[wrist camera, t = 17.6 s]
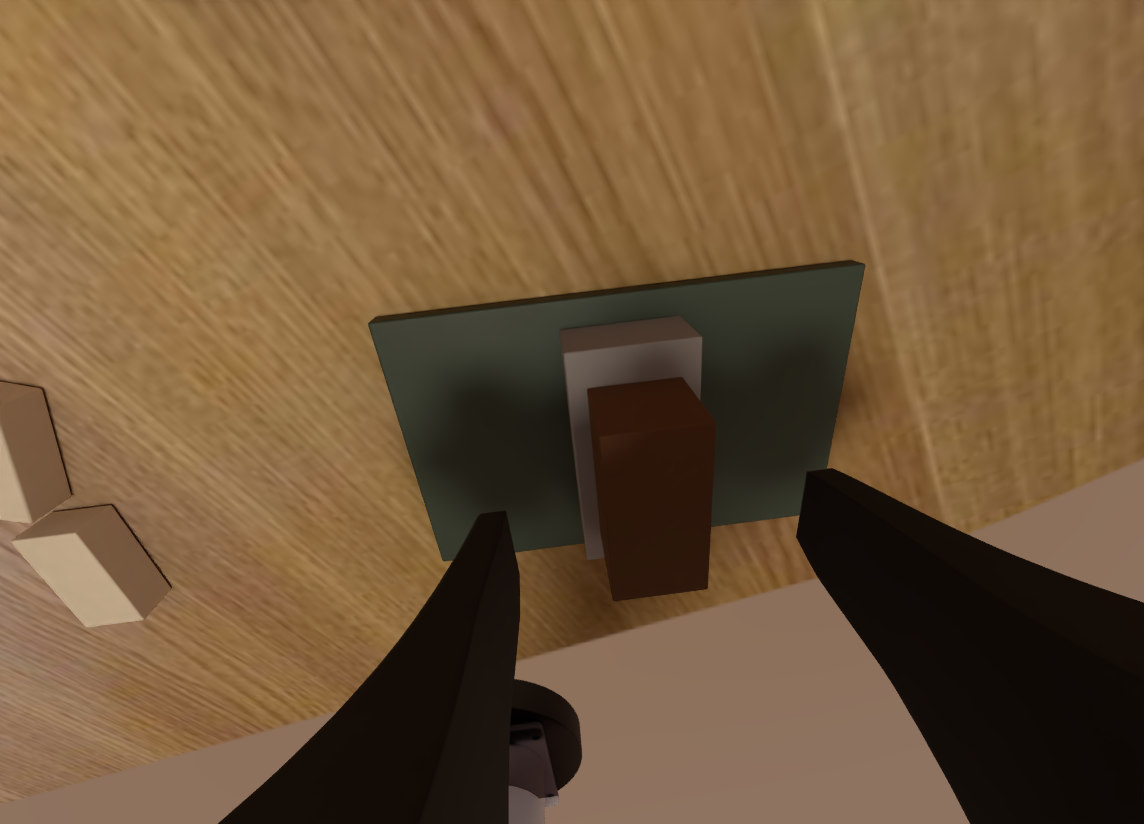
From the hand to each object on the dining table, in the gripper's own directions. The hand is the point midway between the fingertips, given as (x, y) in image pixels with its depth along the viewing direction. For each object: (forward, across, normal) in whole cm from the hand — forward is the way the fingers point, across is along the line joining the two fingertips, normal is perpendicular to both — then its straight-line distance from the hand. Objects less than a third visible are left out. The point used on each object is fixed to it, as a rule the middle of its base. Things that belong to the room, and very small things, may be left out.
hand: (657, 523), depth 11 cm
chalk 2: (+5, +18, +2) cm, 19 cm away
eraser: (+4, 0, 0) cm, 4 cm away
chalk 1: (+5, +18, -2) cm, 19 cm away
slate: (+5, 0, 0) cm, 5 cm away
